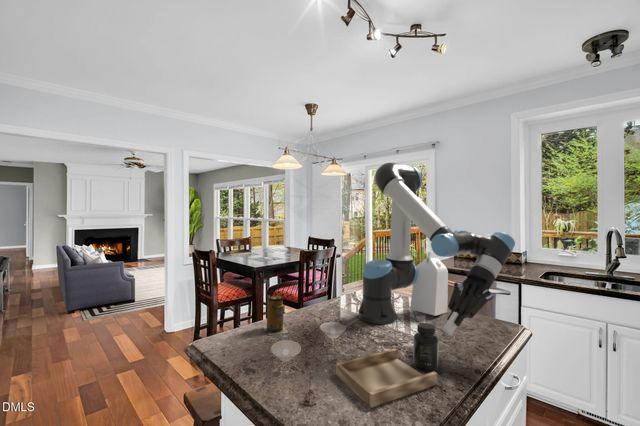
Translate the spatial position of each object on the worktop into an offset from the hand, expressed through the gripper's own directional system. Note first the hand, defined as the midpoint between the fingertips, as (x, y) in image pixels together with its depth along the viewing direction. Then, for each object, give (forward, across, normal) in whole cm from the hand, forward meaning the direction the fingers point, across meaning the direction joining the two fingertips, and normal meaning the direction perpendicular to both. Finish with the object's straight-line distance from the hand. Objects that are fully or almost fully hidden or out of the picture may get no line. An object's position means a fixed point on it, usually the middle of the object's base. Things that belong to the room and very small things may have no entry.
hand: (447, 332), depth 95 cm
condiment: (+33, +45, +21) cm, 60 cm away
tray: (+23, 0, +10) cm, 25 cm away
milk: (-15, +35, -27) cm, 46 cm away
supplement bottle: (+12, 0, 0) cm, 12 cm away
